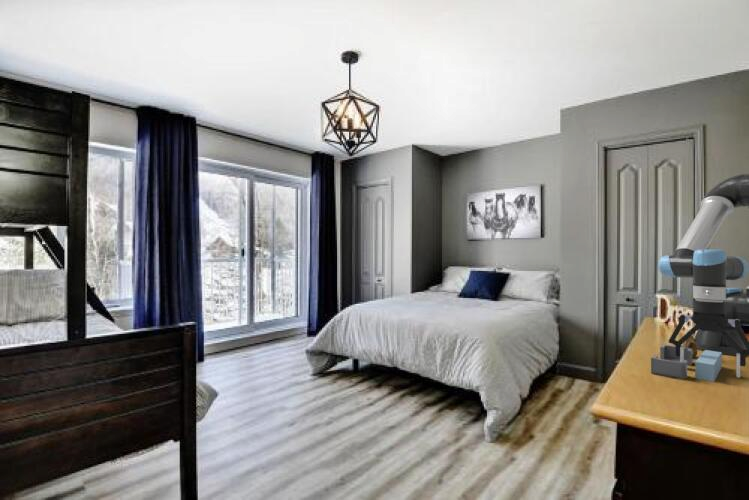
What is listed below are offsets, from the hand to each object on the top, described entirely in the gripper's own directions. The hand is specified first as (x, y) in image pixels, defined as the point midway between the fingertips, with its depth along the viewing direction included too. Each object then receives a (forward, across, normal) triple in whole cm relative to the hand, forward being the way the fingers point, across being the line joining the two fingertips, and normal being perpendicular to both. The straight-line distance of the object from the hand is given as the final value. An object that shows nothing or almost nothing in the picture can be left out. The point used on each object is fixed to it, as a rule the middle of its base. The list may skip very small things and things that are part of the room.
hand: (709, 371), depth 115 cm
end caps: (0, -8, -2) cm, 9 cm away
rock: (0, -6, +19) cm, 20 cm away
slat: (+1, 0, 0) cm, 1 cm away
